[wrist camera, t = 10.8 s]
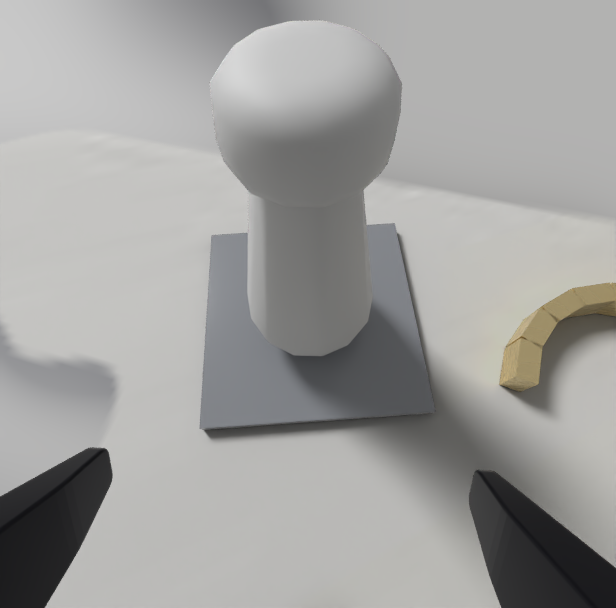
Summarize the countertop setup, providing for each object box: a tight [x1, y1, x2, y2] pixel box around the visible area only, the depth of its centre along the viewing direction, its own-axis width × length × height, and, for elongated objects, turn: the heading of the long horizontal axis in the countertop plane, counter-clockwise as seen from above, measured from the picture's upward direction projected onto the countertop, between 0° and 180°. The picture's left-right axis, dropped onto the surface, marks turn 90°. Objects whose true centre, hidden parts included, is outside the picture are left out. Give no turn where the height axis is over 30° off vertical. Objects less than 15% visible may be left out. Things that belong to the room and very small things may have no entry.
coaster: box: [200, 223, 435, 430], centre depth 19 cm, size 11×11×1 cm
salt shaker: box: [210, 21, 402, 356], centre depth 13 cm, size 6×6×13 cm
